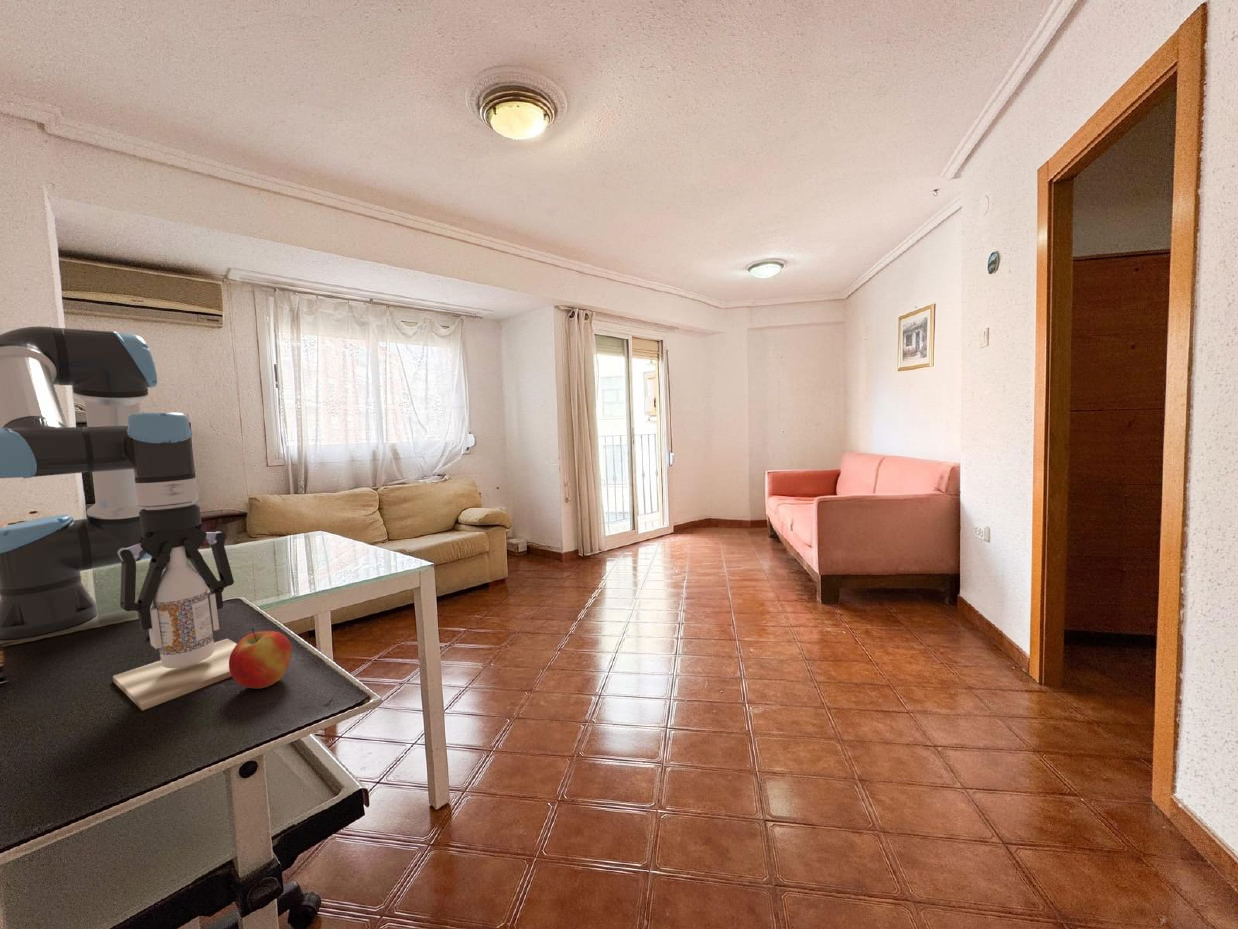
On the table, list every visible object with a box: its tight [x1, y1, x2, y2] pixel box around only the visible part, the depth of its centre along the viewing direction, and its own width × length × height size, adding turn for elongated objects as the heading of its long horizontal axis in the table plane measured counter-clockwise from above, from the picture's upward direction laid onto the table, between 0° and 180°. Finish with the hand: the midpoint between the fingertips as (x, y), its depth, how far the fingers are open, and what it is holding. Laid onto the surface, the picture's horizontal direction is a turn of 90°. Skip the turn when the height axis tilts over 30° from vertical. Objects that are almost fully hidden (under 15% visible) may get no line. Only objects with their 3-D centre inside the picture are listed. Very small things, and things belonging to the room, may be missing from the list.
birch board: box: [112, 638, 237, 711], centre depth 85 cm, size 16×16×1 cm
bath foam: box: [152, 546, 215, 668], centre depth 84 cm, size 7×7×20 cm
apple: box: [229, 627, 292, 689], centre depth 80 cm, size 8×8×10 cm
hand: (186, 636), depth 85 cm, fingers closed on bath foam, 7 cm apart
